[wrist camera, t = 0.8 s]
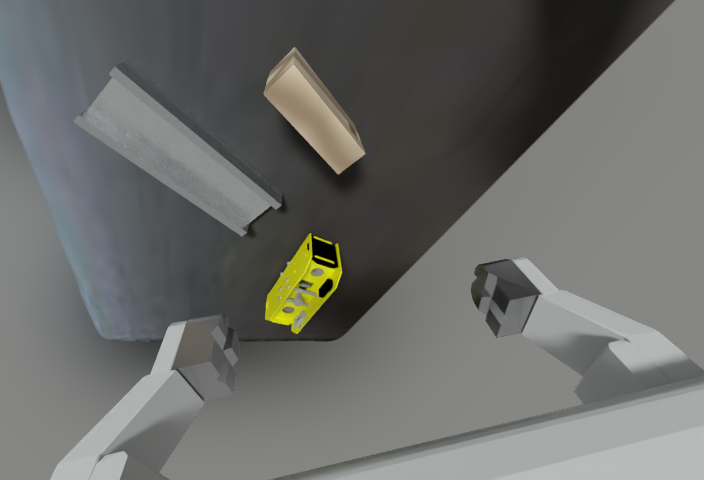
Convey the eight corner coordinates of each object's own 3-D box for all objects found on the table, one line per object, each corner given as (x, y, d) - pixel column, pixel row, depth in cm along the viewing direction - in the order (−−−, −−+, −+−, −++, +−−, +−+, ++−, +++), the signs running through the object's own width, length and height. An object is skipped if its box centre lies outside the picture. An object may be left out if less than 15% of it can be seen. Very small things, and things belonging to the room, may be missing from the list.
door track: (129, 59, 29) (114, 66, 27) (282, 192, 40) (281, 205, 38) (89, 111, 31) (73, 121, 29) (244, 222, 43) (242, 236, 41)
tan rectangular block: (295, 46, 30) (294, 63, 24) (354, 123, 36) (365, 153, 30) (269, 71, 31) (262, 94, 25) (331, 142, 37) (337, 174, 31)
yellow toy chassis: (295, 299, 56) (295, 340, 50) (265, 291, 53) (261, 333, 47) (340, 241, 48) (346, 281, 42) (307, 228, 45) (309, 268, 39)
